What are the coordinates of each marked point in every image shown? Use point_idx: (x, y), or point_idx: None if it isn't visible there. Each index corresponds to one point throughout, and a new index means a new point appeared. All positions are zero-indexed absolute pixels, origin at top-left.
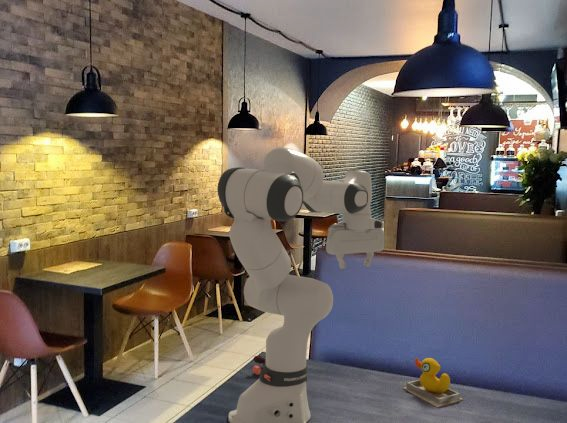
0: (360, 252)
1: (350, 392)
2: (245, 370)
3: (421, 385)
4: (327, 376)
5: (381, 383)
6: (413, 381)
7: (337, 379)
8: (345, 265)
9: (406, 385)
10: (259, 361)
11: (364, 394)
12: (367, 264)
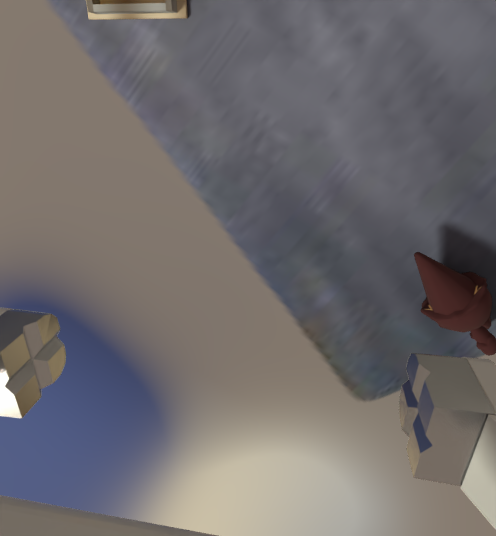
0: (49, 507)
1: (348, 79)
2: None
3: (124, 2)
4: (326, 210)
5: (221, 89)
6: (146, 6)
7: (315, 178)
8: (438, 375)
9: (175, 11)
10: (489, 332)
11: (321, 43)
12: (26, 319)
